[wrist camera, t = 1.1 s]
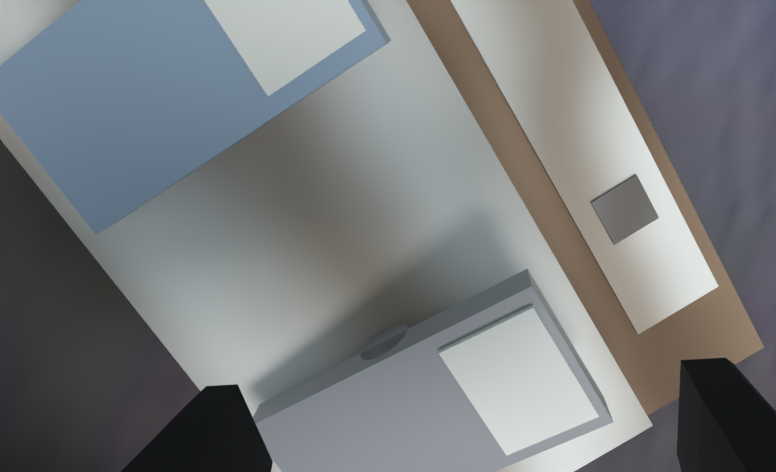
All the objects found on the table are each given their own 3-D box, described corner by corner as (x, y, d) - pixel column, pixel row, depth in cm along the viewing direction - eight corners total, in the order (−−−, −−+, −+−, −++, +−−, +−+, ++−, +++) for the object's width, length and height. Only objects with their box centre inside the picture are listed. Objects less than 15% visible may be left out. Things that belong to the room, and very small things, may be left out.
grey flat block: (345, 492, 18) (333, 542, 16) (267, 389, 17) (245, 431, 15) (598, 381, 16) (615, 426, 14) (524, 257, 15) (532, 289, 13)
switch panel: (366, 559, 23) (370, 654, 19) (-92, -31, 17) (-218, -65, 14) (745, 336, 22) (832, 389, 18) (386, -369, 16) (398, -512, 12)
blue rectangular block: (132, 212, 16) (92, 237, 14) (29, 76, 15) (-28, 84, 13) (394, 39, 14) (385, 42, 12) (292, -132, 13) (266, -156, 11)
